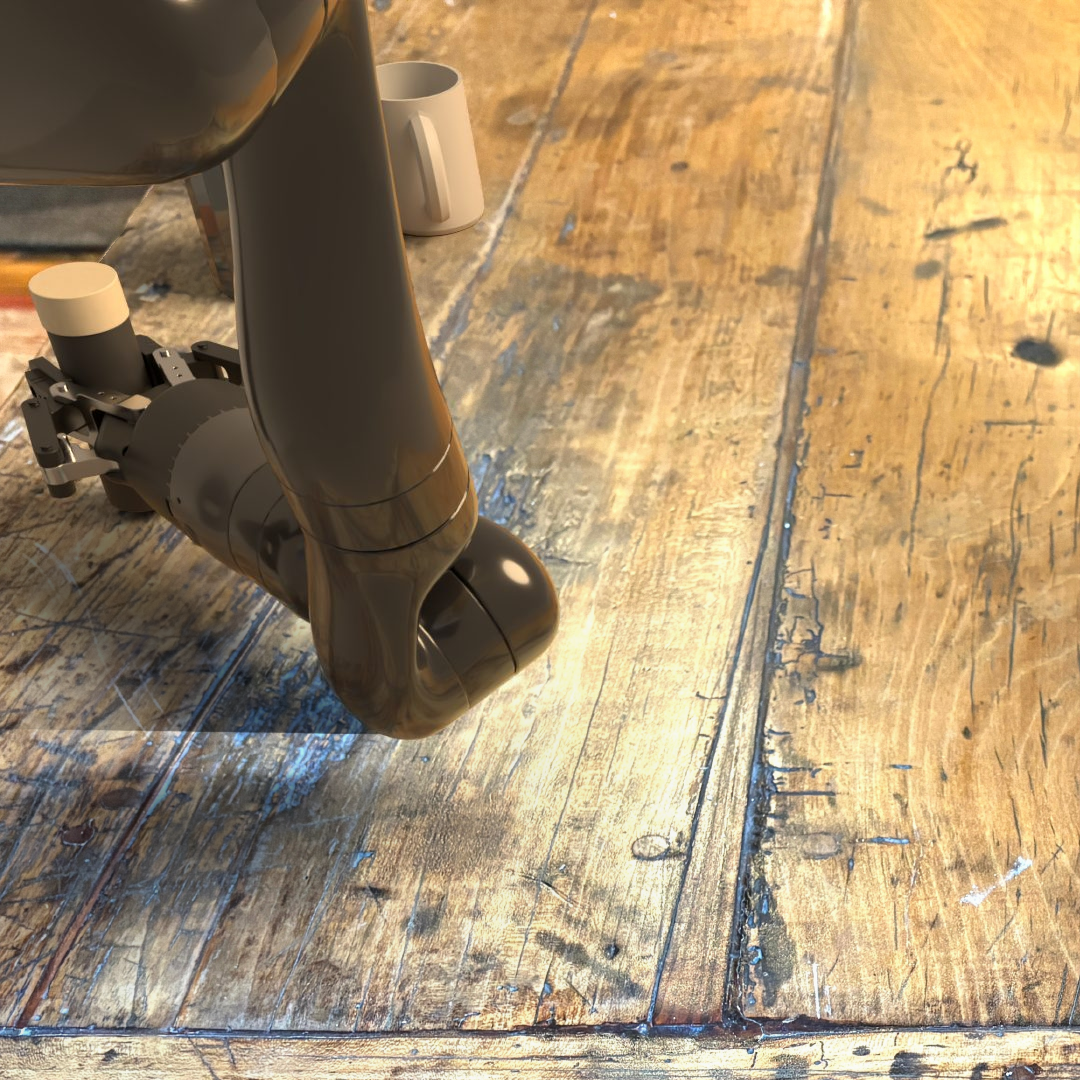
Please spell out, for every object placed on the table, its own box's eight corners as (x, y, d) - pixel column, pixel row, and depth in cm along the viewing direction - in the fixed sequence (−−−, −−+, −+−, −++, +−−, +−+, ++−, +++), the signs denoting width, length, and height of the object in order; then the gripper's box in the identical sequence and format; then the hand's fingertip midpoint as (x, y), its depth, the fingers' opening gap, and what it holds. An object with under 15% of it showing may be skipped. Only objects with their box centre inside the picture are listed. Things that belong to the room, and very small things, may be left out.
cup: (476, 188, 129) (452, 56, 123) (503, 246, 123) (479, 109, 117) (373, 201, 127) (343, 67, 121) (395, 260, 121) (365, 122, 115)
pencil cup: (196, 303, 116) (147, 142, 109) (238, 239, 123) (194, 84, 115) (346, 306, 116) (307, 146, 109) (380, 242, 123) (345, 87, 116)
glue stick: (95, 513, 98) (14, 297, 89) (121, 472, 100) (45, 260, 92) (174, 514, 98) (100, 299, 89) (197, 474, 101) (128, 262, 92)
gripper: (360, 365, 88) (185, 252, 96) (82, 467, 81) (-82, 335, 89) (392, 502, 94) (224, 383, 102) (135, 608, 87) (-24, 472, 95)
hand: (82, 362), depth 96 cm, fingers closed on glue stick, 4 cm apart
